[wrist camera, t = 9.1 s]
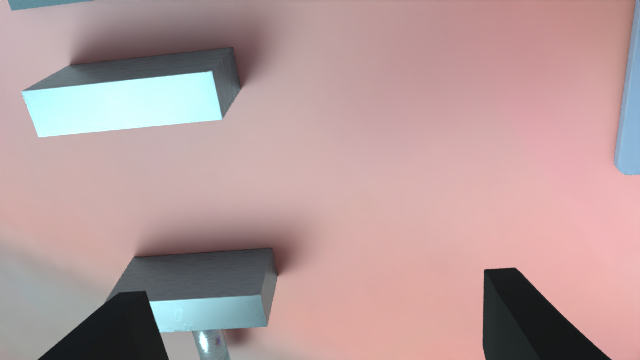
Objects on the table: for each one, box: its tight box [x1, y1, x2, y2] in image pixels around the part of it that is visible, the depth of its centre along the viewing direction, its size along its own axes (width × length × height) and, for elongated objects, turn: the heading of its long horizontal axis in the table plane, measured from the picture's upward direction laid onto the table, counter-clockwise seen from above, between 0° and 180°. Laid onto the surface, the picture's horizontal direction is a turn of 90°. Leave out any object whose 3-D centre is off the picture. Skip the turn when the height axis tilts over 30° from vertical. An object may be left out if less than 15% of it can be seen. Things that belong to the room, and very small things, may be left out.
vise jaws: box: [22, 47, 277, 360], centre depth 20 cm, size 6×14×3 cm, turn 7°
